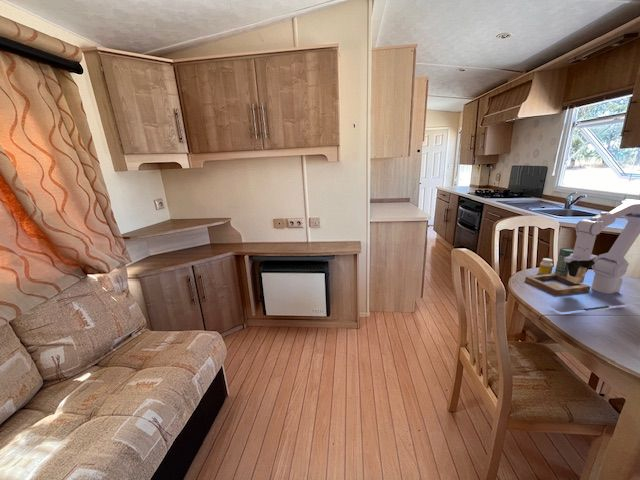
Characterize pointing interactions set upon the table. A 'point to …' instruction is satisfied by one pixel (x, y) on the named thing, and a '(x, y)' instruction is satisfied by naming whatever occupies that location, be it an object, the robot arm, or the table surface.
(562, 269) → the can
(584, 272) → the beech block
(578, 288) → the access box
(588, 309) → the place mat
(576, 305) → the table surface
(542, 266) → the supplement bottle
